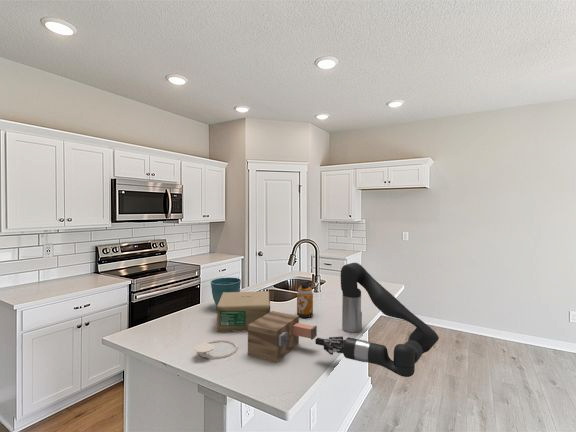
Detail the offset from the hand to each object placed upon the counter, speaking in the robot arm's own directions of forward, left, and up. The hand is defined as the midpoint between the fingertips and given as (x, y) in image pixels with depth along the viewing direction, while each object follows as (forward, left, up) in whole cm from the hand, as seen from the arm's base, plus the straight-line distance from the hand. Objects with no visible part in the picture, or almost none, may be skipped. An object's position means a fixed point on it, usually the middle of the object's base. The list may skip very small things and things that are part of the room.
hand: (316, 340), depth 128 cm
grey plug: (+20, -3, -2) cm, 20 cm away
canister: (+4, -52, -8) cm, 52 cm away
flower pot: (+52, -61, -8) cm, 80 cm away
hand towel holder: (+43, -5, -8) cm, 44 cm away
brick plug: (+7, -11, -2) cm, 13 cm away
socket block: (+17, -9, -8) cm, 21 cm away
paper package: (+36, -39, -8) cm, 53 cm away
